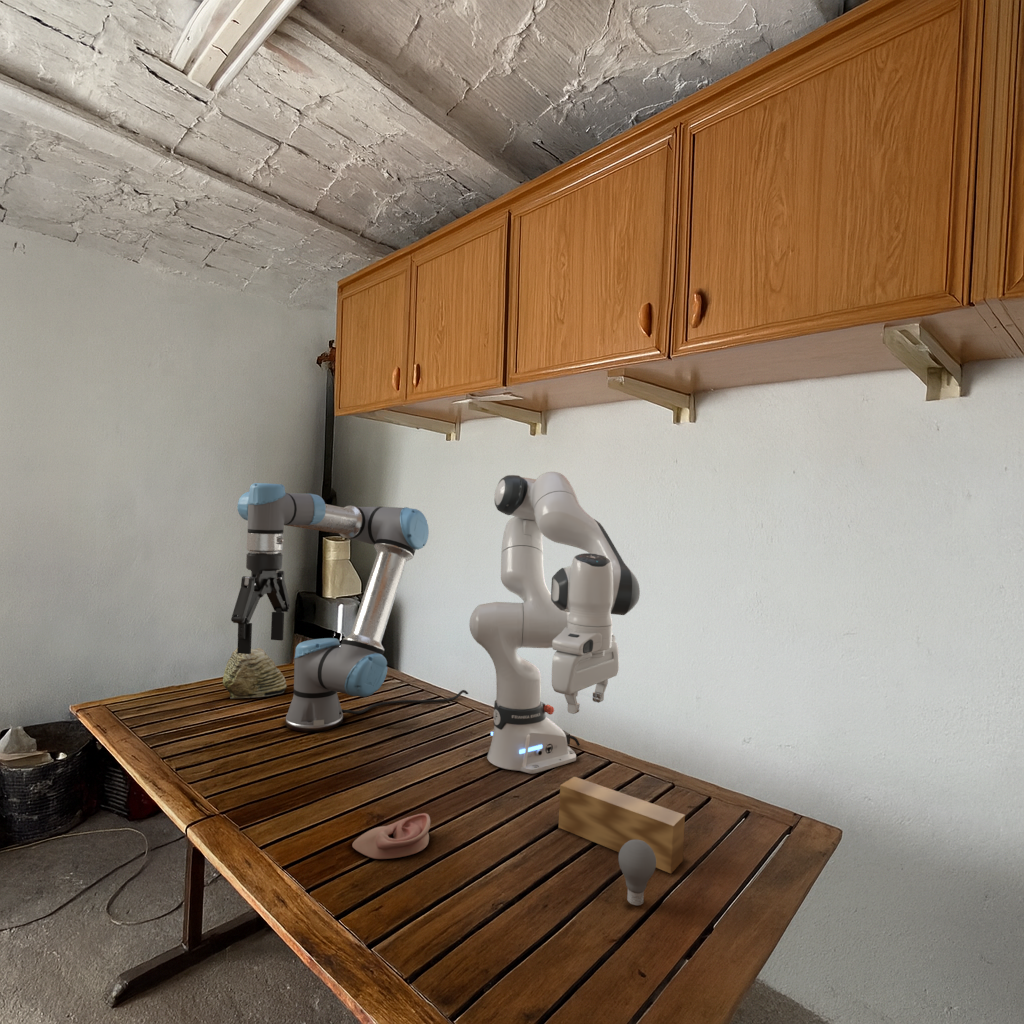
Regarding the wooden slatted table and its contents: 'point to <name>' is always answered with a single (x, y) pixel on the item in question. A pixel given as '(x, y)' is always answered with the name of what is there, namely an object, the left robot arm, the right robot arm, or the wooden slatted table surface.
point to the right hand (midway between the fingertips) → (586, 706)
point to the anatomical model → (395, 838)
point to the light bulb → (636, 868)
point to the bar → (621, 821)
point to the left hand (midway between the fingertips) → (261, 646)
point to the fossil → (253, 675)
